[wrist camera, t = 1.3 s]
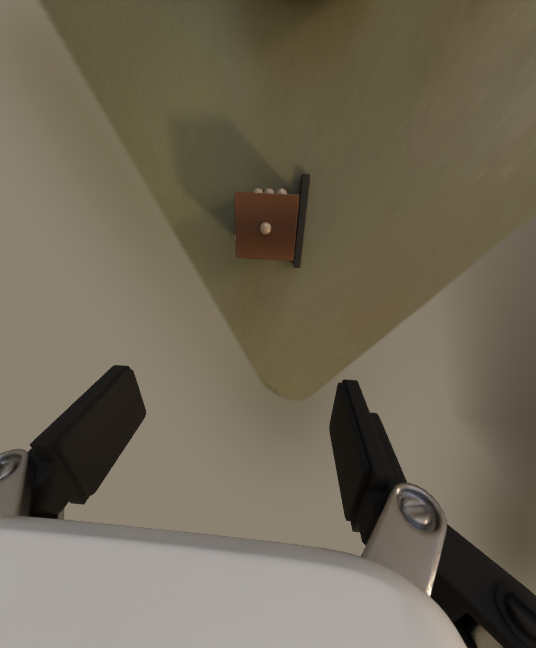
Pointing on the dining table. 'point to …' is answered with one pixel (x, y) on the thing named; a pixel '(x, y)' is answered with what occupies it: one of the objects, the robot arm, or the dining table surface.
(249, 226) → the die
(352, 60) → the dining table surface
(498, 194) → the dining table surface
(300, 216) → the stop strip
